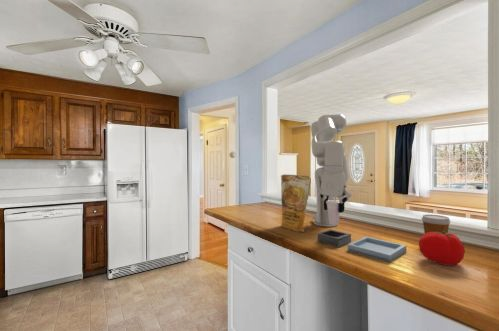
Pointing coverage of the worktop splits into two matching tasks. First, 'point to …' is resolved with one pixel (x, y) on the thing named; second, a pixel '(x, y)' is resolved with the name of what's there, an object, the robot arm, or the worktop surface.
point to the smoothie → (333, 211)
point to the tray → (377, 248)
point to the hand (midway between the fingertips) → (333, 210)
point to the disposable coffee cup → (435, 223)
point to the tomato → (442, 248)
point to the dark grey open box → (334, 238)
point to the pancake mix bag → (294, 201)
